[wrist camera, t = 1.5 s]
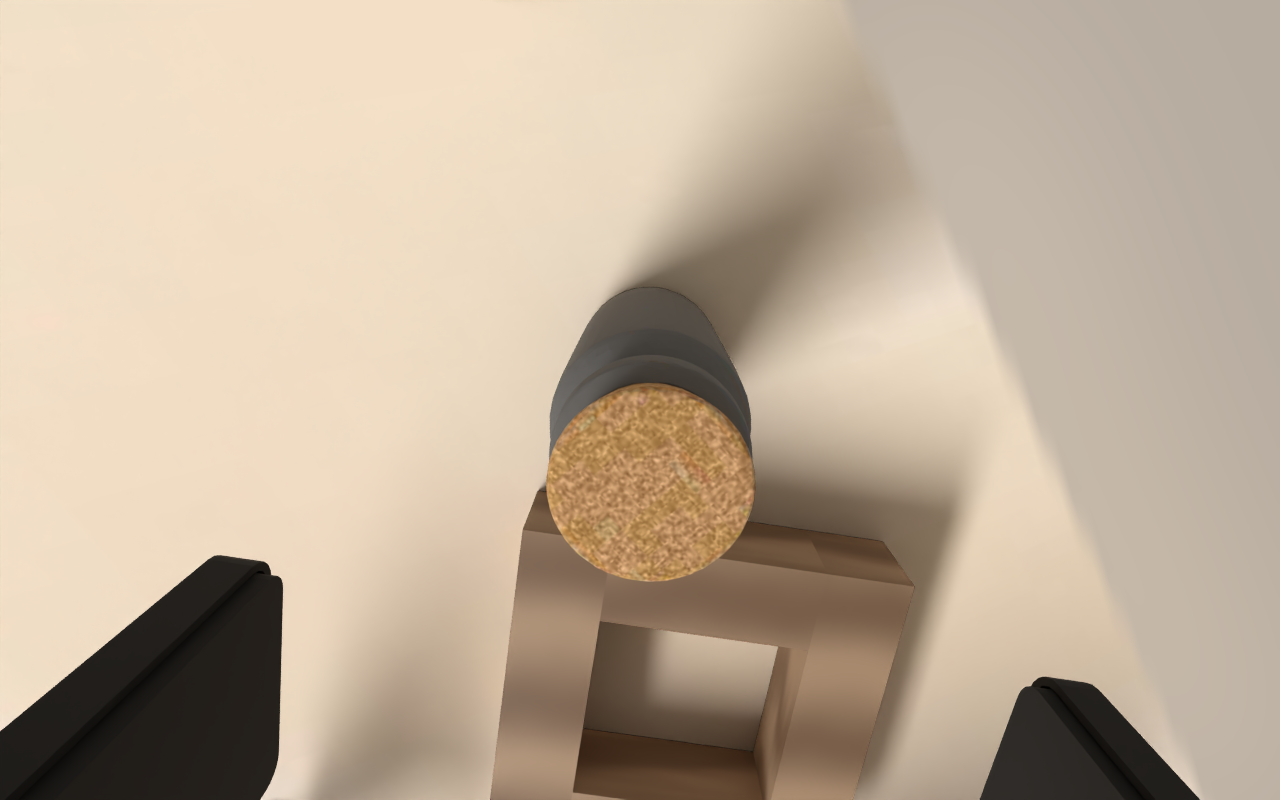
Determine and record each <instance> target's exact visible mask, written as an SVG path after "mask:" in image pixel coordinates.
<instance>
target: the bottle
mask: <svg viewBox="0 0 1280 800" xmlns="http://www.w3.org/2000/svg"><path fill="white" fill-rule="evenodd" d="M750 432H751V415H750V408H749V403H748V398H747V395H746V392H745V390H744V387H743V385H742V383H741V380H740V378H739V376H738V374H737V371H736V369H735V367H734V365H733V364H732V362H731V360H730V358H729V356H728V354H727V353H726V351H725V349H724V347H723V345H722V343H721V342H720V340H719V338H718V336H717V334H716V332H715V331H714V329H713V327H712V325H711V324H710V322H709V320H708V319H707V317H706V316H705V315H704V313H703V312H702V311H701V310H700V309H699V308H698V307H697V306H696V305H695V304H694V303H693V302H691V301H690V300H688V299H687V298H686V297H684V296H682V295H680V294H678V293H676V292H673V291H670V290H667V289H663V288H656V287H642V288H636V289H632V290H629V291H625V292H623V293H621V294H619V295H617V296H615V297H613V298H612V299H610V300H609V301H607V302H606V303H605V304H604V305H603V306H601V308H600V309H599V310H598V311H597V312H596V313H595V315H594V316H593V317H592V319H591V320H590V322H589V323H588V325H587V327H586V329H585V331H584V332H583V334H582V336H581V338H580V340H579V342H578V344H577V346H576V348H575V350H574V352H573V354H572V356H571V358H570V360H569V362H568V364H567V366H566V368H565V370H564V372H563V374H562V376H561V379H560V381H559V384H558V386H557V389H556V392H555V394H554V397H553V401H552V407H551V412H550V438H551V441H550V452H549V466H548V473H547V483H546V485H547V497H548V502H549V507H550V511H551V514H552V516H553V519H554V522H555V523H556V525H557V527H558V529H559V531H560V532H561V534H562V536H563V537H564V539H565V540H566V541H567V542H568V544H569V545H570V546H571V547H572V549H574V550H575V551H576V552H577V553H578V554H579V555H580V556H581V557H583V558H584V559H585V560H587V561H588V562H590V563H591V564H592V565H594V566H595V567H597V568H599V569H601V570H603V571H605V572H607V573H610V574H613V575H615V576H618V577H621V578H624V579H631V580H638V581H647V582H653V581H667V580H672V579H677V578H680V577H683V576H687V575H690V574H693V573H695V572H697V571H699V570H701V569H703V568H705V567H707V566H708V565H710V564H711V563H712V562H714V561H715V560H717V559H718V558H719V557H721V556H722V555H723V554H724V553H725V552H726V551H727V550H728V549H729V548H730V547H731V546H732V545H733V543H734V542H735V541H736V540H737V538H738V537H739V536H740V534H741V532H742V530H743V529H744V527H745V525H746V523H747V521H748V518H749V516H750V513H751V510H752V506H753V502H754V496H755V471H754V466H753V460H752V446H751V439H750Z"/></svg>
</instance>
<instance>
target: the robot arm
mask: <svg viewBox="0 0 1280 800" xmlns="http://www.w3.org/2000/svg"><path fill="white" fill-rule="evenodd" d="M282 608H283V583H282V580H281V578H280V577H278V576H273V575H271V570H270V568H269V565H268V564H267V563H265V562H263V561H256V560H249V559H242V558H235V557H229V556H222V555H217V556H213V557H212V558H210V559H208V560H207V561H206V562H205V563H203V564H202V565H201V566H200V567H199V568H197V569H196V570H195V571H194V572H193V573H191V574H190V575H189V576H188V577H186V578H185V579H184V580H183V581H182V582H180V583H179V584H178V585H177V586H176V587H174V588H173V589H172V590H171V591H170V592H168V593H167V594H166V595H165V596H163V597H162V598H161V599H160V600H159V601H157V602H156V603H155V604H154V605H153V606H151V607H150V608H149V609H148V610H147V611H145V612H144V613H143V614H142V615H140V616H139V617H138V618H137V619H136V620H134V621H133V622H132V623H131V624H130V625H128V626H127V627H126V628H125V629H124V630H122V631H121V632H120V633H119V634H117V635H116V636H115V637H114V638H113V639H111V640H110V641H109V642H108V643H107V644H105V645H104V646H103V647H102V648H101V649H99V650H98V651H97V652H96V653H94V654H93V655H92V656H91V657H90V658H88V659H87V660H86V661H85V662H84V663H82V664H81V665H80V666H79V667H78V668H76V669H75V670H74V671H73V672H71V673H70V674H69V675H68V676H67V677H65V678H64V679H63V680H62V681H61V682H59V683H58V684H57V685H56V686H55V687H53V688H52V689H51V690H50V691H48V692H47V693H46V694H45V695H44V696H42V697H41V698H40V699H39V700H38V701H36V702H35V703H34V704H33V705H32V706H30V707H29V708H28V709H27V710H25V711H24V712H23V713H22V714H21V715H19V716H18V717H17V718H16V719H15V720H13V721H12V722H11V723H10V724H9V725H7V726H6V727H5V728H4V729H2V730H1V731H0V800H260V799H261V797H262V796H263V794H264V793H265V791H266V790H267V788H268V786H269V784H270V782H271V780H272V777H273V775H274V772H275V769H276V766H277V761H278V755H279V724H280V685H281V647H282ZM980 800H1200V799H1199V798H1198V797H1197V796H1196V795H1195V794H1194V793H1193V792H1192V790H1191V789H1190V788H1189V787H1188V786H1187V785H1186V784H1185V783H1184V782H1183V781H1182V780H1181V779H1180V777H1179V776H1178V775H1177V774H1176V773H1175V772H1174V771H1173V770H1172V769H1171V768H1170V767H1169V766H1168V764H1167V763H1166V762H1165V761H1164V760H1163V759H1162V758H1161V757H1160V756H1159V755H1158V754H1157V753H1156V751H1155V750H1154V749H1153V748H1152V747H1151V746H1150V745H1149V744H1148V743H1147V742H1146V741H1145V739H1144V738H1143V737H1142V736H1141V735H1140V734H1139V733H1138V732H1137V731H1136V730H1135V729H1134V728H1133V726H1132V725H1131V724H1130V723H1129V722H1128V721H1127V720H1126V719H1125V718H1124V717H1123V716H1122V715H1121V713H1120V712H1119V711H1118V710H1117V709H1116V708H1115V707H1114V706H1113V705H1112V704H1111V703H1110V702H1109V700H1108V699H1107V698H1106V697H1105V696H1104V695H1103V694H1102V693H1101V692H1100V691H1099V690H1098V689H1097V688H1096V687H1094V686H1093V685H1091V684H1088V683H1085V682H1078V681H1071V680H1064V679H1057V678H1051V677H1041V678H1038V679H1037V680H1036V681H1034V682H1033V684H1032V686H1029V687H1025V688H1023V689H1022V690H1021V692H1020V693H1019V695H1018V698H1017V700H1016V703H1015V706H1014V708H1013V711H1012V714H1011V716H1010V719H1009V722H1008V725H1007V727H1006V730H1005V733H1004V735H1003V738H1002V741H1001V744H1000V746H999V749H998V752H997V754H996V757H995V760H994V762H993V765H992V768H991V771H990V773H989V776H988V779H987V781H986V784H985V787H984V790H983V792H982V795H981V798H980Z"/></svg>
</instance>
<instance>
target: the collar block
mask: <svg viewBox="0 0 1280 800" xmlns="http://www.w3.org/2000/svg"><path fill="white" fill-rule="evenodd" d="M914 588H915V586H914V585H913V584H912V582H911V581H910V579H909V578H908V577H907V575H906V574H905V572H904V571H903V569H902V568H901V567H900V565H899V564H898V562H897V561H896V559H895V558H894V557H893V555H892V554H891V552H890V551H889V550H888V548H887V547H886V545H885V544H884V542H883V541H876V540H869V539H862V538H856V537H849V536H842V535H835V534H828V533H822V532H815V531H808V530H801V529H794V528H788V527H781V526H774V525H767V524H761V523H754V522H747V523H746V525H745V527H744V529H743V530H742V532H741V534H740V536H739V537H738V538H737V540H736V541H735V542H734V543H733V545H732V546H731V547H730V548H729V549H728V550H727V551H726V552H725V553H724V554H723V555H722V556H721V557H719V558H718V559H717V560H715V561H714V562H712V563H711V564H710V565H708V566H707V567H705V568H703V569H701V570H699V571H697V572H695V573H693V574H690V575H687V576H683V577H680V578H677V579H672V580H667V581H653V582H647V581H638V580H631V579H624V578H621V577H618V576H615V575H613V574H610V573H607V572H605V571H603V570H601V569H599V568H597V567H595V566H594V565H592V564H591V563H590V562H588V561H587V560H585V559H584V558H583V557H581V556H580V555H579V554H578V553H577V552H576V551H575V550H574V549H572V547H571V546H570V545H569V544H568V542H567V541H566V540H565V539H564V537H563V536H562V534H561V532H560V531H559V529H558V527H557V525H556V523H555V522H554V519H553V516H552V514H551V511H550V507H549V502H548V497H547V492H544V491H538V492H537V494H536V497H535V499H534V502H533V505H532V507H531V510H530V512H529V515H528V518H527V520H526V523H525V525H524V528H523V532H522V541H521V549H520V557H519V565H518V574H517V582H516V590H515V598H514V607H513V615H512V623H511V631H510V640H509V648H508V656H507V664H506V673H505V681H504V689H503V698H502V706H501V714H500V722H499V731H498V739H497V747H496V755H495V764H494V772H493V780H492V788H491V797H490V800H853V798H854V794H855V791H856V787H857V784H858V781H859V777H860V774H861V770H862V767H863V763H864V760H865V756H866V753H867V750H868V746H869V743H870V739H871V736H872V732H873V729H874V725H875V722H876V719H877V715H878V712H879V708H880V705H881V701H882V698H883V695H884V691H885V688H886V684H887V681H888V677H889V674H890V670H891V667H892V664H893V660H894V657H895V653H896V650H897V646H898V643H899V639H900V636H901V633H902V629H903V626H904V622H905V619H906V615H907V612H908V608H909V605H910V602H911V598H912V595H913V591H914ZM600 621H603V622H610V623H617V624H624V625H631V626H638V627H645V628H652V629H659V630H666V631H673V632H680V633H687V634H694V635H702V636H709V637H716V638H723V639H730V640H737V641H744V642H751V643H758V644H765V645H772V646H778V650H777V655H776V659H775V663H774V667H773V671H772V676H771V680H770V684H769V688H768V692H767V697H766V701H765V705H764V709H763V713H762V718H761V722H760V726H759V730H758V734H757V739H756V743H755V747H754V751H753V752H749V751H742V750H735V749H728V748H720V747H713V746H706V745H698V744H691V743H684V742H677V741H669V740H662V739H655V738H647V737H640V736H633V735H625V734H618V733H611V732H604V731H596V730H589V729H583V723H584V717H585V711H586V705H587V698H588V692H589V686H590V679H591V673H592V667H593V661H594V654H595V648H596V642H597V635H598V629H599V623H600Z"/></svg>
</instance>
